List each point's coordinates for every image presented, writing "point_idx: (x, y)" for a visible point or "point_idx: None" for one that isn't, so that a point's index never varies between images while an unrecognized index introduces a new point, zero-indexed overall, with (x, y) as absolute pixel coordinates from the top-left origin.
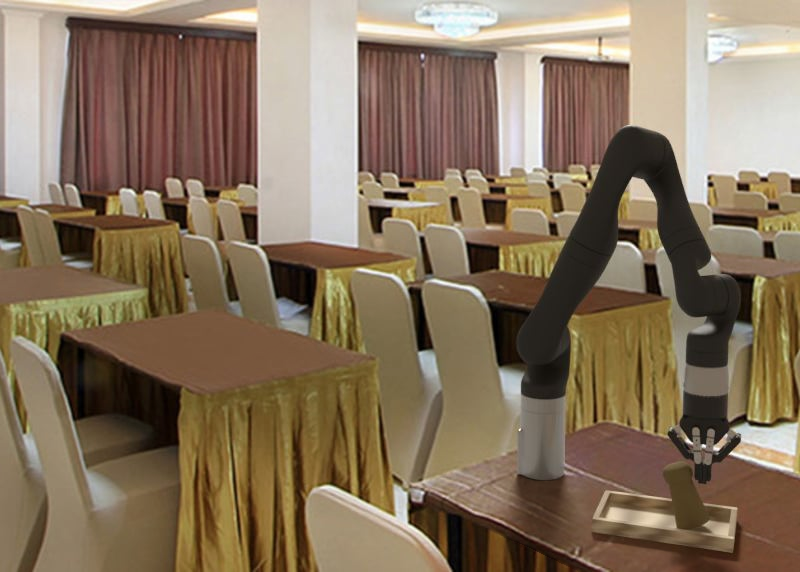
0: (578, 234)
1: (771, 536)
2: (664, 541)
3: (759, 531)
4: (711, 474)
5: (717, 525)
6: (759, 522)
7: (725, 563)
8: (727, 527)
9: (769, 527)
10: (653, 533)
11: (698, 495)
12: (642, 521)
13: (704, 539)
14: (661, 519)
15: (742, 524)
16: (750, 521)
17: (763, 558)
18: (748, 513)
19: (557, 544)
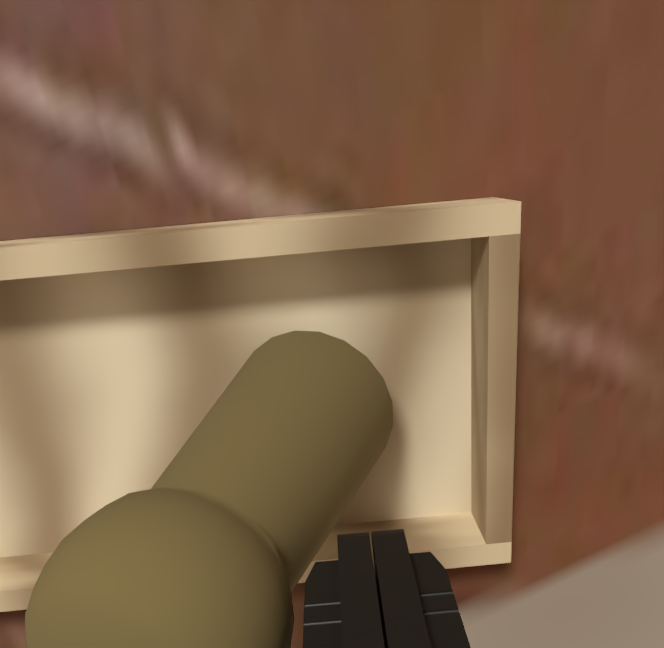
0: None
1: (644, 310)
2: None
3: (595, 279)
4: (449, 585)
5: (416, 337)
6: (601, 170)
7: (467, 598)
8: (461, 340)
9: (644, 212)
10: None
11: (340, 500)
12: (93, 437)
13: None
14: (163, 380)
15: (520, 232)
16: (558, 177)
17: (596, 514)
18: (550, 67)
19: None
